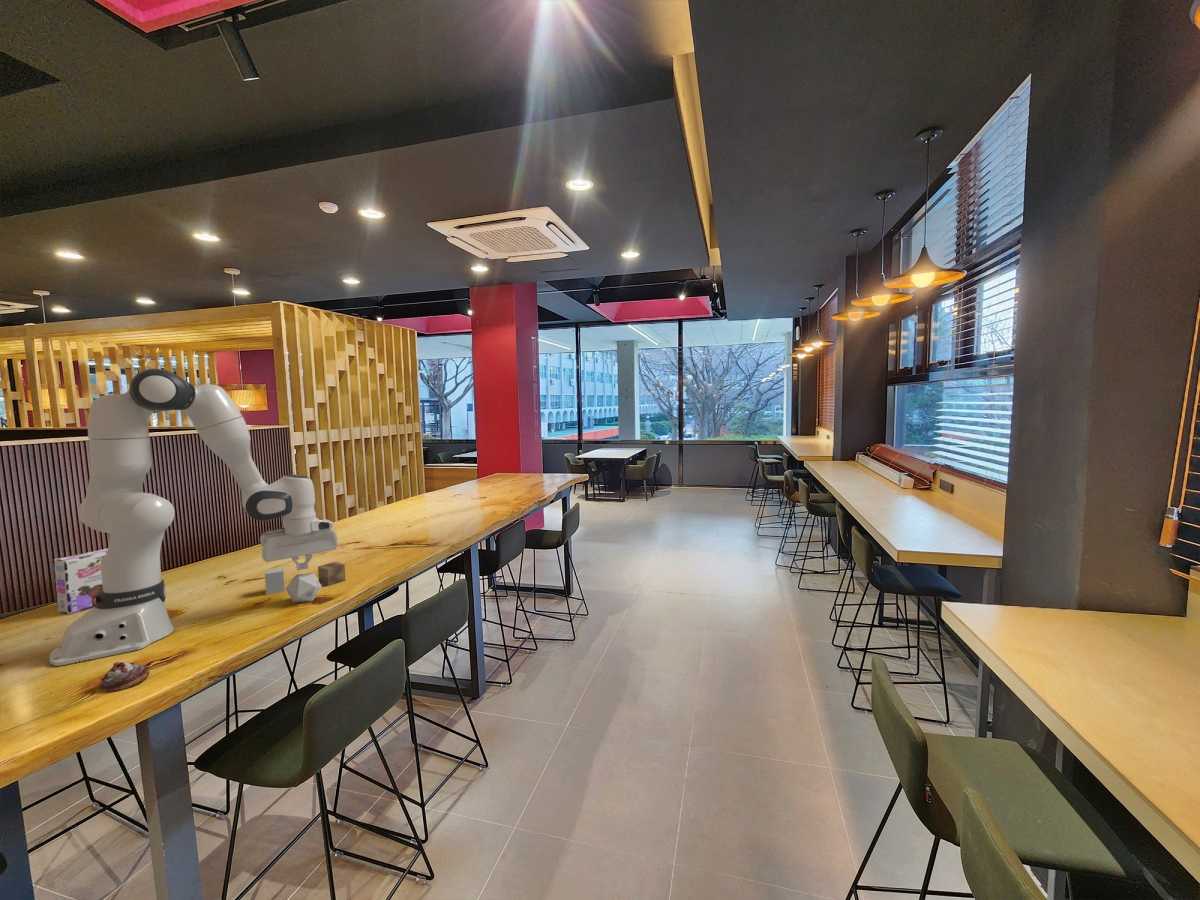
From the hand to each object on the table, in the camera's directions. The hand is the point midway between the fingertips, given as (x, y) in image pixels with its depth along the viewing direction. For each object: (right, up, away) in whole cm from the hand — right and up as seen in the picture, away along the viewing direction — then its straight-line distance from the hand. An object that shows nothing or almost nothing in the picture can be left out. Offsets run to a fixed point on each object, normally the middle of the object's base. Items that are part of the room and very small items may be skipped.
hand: (302, 569), depth 150 cm
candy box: (-64, -11, -1) cm, 65 cm away
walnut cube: (0, -9, +17) cm, 19 cm away
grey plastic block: (-15, -10, +9) cm, 19 cm away
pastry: (-11, -14, -45) cm, 48 cm away
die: (0, -10, +1) cm, 10 cm away
